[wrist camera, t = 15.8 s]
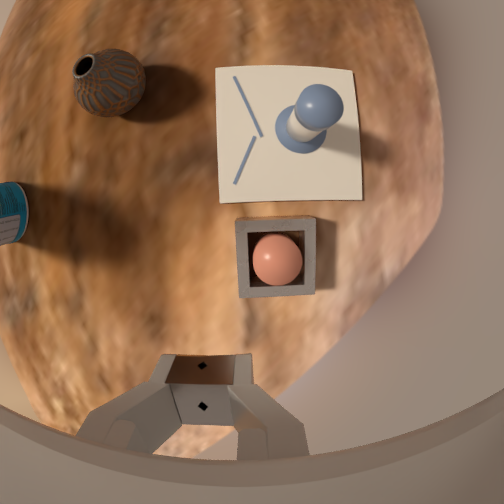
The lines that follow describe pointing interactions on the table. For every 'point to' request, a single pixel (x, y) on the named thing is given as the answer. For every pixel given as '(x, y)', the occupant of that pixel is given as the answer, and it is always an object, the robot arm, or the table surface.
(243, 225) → the button housing
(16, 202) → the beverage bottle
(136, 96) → the vase
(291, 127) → the dome-topped peg
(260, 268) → the button
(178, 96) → the table surface
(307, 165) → the drawing pad
